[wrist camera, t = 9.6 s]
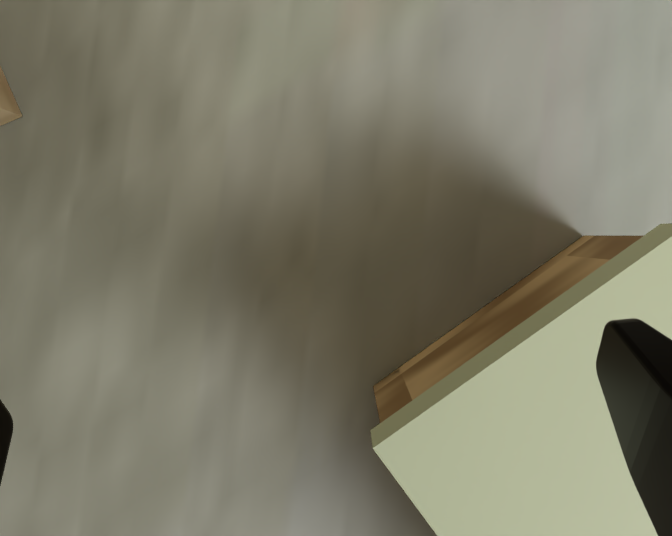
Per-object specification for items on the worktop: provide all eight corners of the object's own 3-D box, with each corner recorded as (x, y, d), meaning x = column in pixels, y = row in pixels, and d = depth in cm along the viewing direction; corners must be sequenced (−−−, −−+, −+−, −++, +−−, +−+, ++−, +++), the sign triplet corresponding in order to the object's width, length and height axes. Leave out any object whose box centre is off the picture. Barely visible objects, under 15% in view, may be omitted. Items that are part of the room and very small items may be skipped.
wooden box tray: (627, 733, 19) (703, 865, 15) (372, 386, 18) (381, 427, 14) (837, 592, 19) (971, 691, 15) (583, 235, 18) (651, 235, 14)
